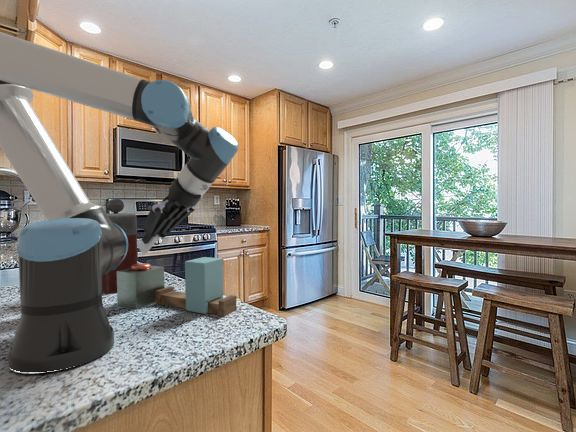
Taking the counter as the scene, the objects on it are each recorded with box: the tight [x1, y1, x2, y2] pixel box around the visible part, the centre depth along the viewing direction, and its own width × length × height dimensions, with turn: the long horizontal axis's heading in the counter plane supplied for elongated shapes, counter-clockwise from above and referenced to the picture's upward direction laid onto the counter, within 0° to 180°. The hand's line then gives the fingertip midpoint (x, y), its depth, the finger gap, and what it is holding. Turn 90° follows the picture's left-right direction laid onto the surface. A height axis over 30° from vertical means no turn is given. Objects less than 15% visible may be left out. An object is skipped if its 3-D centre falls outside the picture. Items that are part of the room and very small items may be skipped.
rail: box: [154, 286, 237, 317], centre depth 80 cm, size 22×5×4 cm, turn 65°
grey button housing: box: [116, 264, 165, 310], centre depth 84 cm, size 7×9×9 cm
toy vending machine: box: [102, 198, 138, 295], centre depth 98 cm, size 9×11×28 cm
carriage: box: [184, 256, 224, 315], centre depth 79 cm, size 6×7×12 cm
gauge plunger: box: [131, 262, 151, 271], centre depth 84 cm, size 5×5×6 cm
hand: (142, 249), depth 84 cm, fingers closed
